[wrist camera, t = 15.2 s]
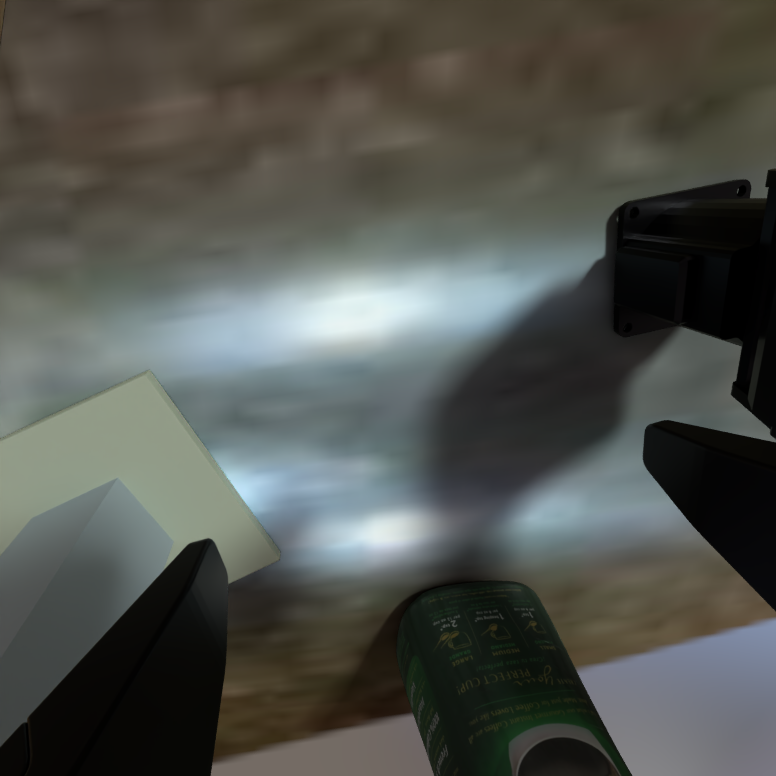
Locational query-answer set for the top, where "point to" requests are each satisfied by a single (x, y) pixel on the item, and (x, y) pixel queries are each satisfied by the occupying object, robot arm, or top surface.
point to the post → (70, 589)
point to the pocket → (1, 14)
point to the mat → (131, 472)
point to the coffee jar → (498, 687)
